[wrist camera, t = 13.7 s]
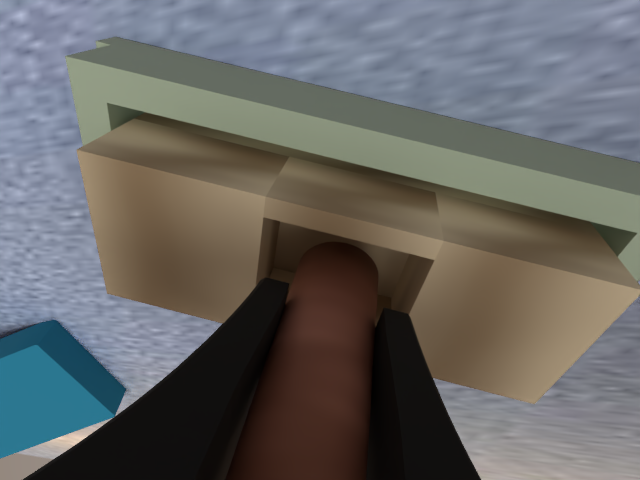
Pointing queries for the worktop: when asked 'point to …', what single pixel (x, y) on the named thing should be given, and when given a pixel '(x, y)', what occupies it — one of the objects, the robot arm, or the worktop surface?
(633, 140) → the worktop surface
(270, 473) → the peg
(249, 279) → the notched tan block
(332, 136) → the cradle
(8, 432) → the lever
